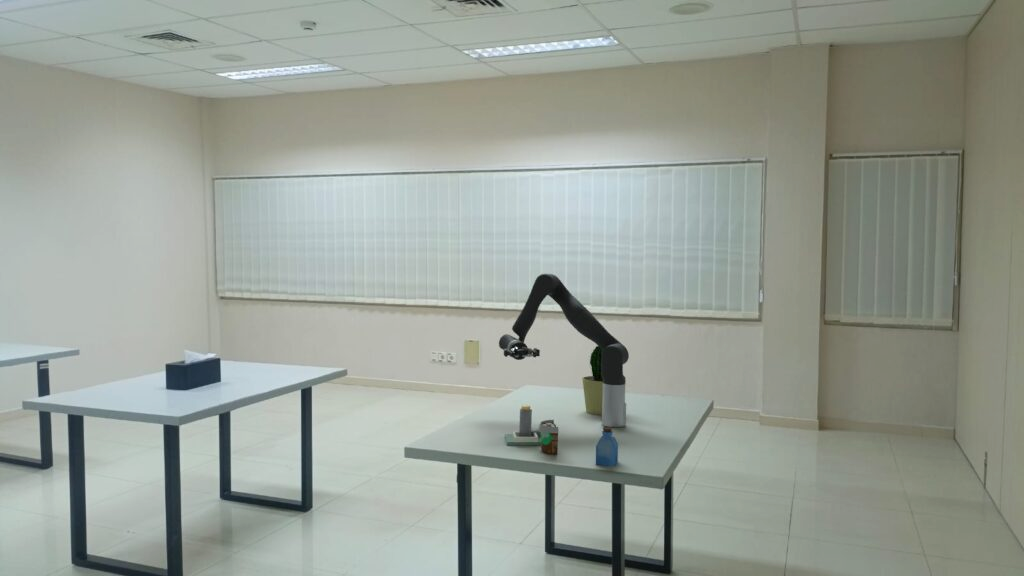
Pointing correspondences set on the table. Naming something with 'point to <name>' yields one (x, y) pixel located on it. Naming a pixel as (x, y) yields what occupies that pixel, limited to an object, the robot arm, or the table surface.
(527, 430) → the plug
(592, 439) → the table surface
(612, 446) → the perfume bottle
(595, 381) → the potted cactus
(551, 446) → the food container
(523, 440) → the board
